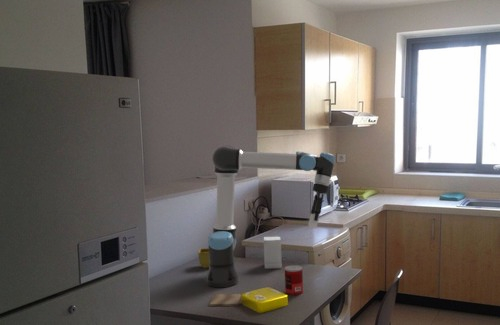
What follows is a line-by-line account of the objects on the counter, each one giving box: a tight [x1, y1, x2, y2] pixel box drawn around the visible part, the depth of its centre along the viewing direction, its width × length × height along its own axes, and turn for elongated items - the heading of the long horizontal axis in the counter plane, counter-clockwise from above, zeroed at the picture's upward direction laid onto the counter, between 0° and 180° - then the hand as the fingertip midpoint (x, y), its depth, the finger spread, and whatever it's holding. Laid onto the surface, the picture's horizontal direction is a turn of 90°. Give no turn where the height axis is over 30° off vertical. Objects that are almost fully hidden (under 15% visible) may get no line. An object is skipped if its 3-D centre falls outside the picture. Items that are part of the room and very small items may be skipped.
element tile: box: [240, 286, 289, 313], centre depth 198 cm, size 15×15×5 cm
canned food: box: [284, 264, 304, 296], centre depth 210 cm, size 8×8×11 cm
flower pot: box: [197, 247, 210, 269], centre depth 257 cm, size 9×9×9 cm
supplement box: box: [263, 236, 283, 270], centre depth 253 cm, size 9×9×15 cm
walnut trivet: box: [208, 293, 242, 307], centre depth 203 cm, size 12×12×1 cm
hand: (312, 227), depth 232 cm, fingers open, 13 cm apart
